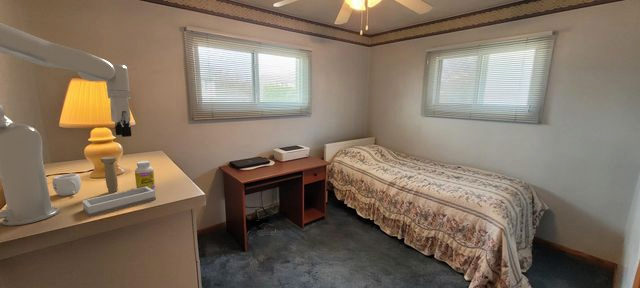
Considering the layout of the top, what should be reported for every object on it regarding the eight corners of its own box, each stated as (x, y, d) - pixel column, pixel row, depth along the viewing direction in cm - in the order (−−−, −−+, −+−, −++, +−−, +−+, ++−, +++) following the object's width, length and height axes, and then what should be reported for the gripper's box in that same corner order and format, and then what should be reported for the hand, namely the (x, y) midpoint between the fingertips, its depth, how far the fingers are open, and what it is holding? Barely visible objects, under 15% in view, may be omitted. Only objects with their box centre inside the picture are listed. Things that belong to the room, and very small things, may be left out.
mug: (51, 195, 106) (47, 177, 105) (77, 189, 114) (74, 172, 112) (63, 200, 101) (60, 181, 100) (90, 193, 108) (87, 175, 107)
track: (89, 216, 86) (87, 207, 85) (83, 209, 92) (81, 200, 91) (155, 199, 101) (154, 190, 101) (147, 194, 107) (146, 186, 107)
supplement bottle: (140, 194, 107) (136, 164, 105) (134, 191, 111) (131, 162, 109) (158, 190, 112) (154, 161, 110) (152, 187, 116) (148, 159, 114)
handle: (109, 194, 107) (104, 159, 104) (103, 192, 110) (98, 158, 107) (123, 191, 111) (118, 157, 108) (116, 188, 114) (111, 156, 112)
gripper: (103, 95, 109) (107, 134, 112) (112, 94, 98) (117, 138, 101) (124, 95, 115) (128, 133, 117) (136, 94, 104) (140, 136, 106)
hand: (123, 135), depth 109 cm, fingers open, 9 cm apart
